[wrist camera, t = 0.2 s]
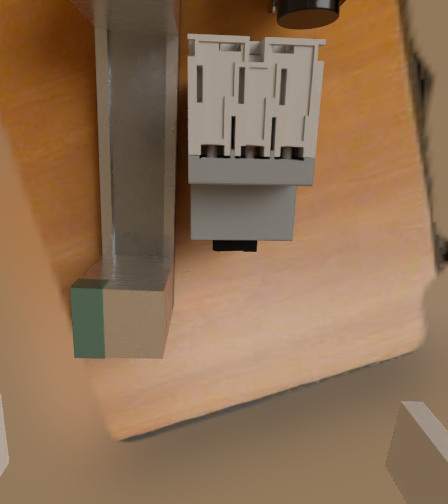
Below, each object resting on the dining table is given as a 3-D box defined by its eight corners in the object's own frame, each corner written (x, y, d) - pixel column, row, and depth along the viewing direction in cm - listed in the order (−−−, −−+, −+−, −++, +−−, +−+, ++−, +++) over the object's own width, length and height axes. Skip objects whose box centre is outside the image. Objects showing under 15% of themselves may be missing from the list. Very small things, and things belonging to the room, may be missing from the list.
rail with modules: (97, -46, 30) (42, -144, 20) (181, -38, 31) (170, -130, 20) (108, 302, 39) (74, 357, 29) (173, 305, 40) (162, 359, 29)
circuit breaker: (195, 228, 37) (188, 280, 23) (195, 79, 33) (187, 28, 19) (266, 229, 38) (303, 280, 23) (274, 82, 34) (326, 33, 19)
